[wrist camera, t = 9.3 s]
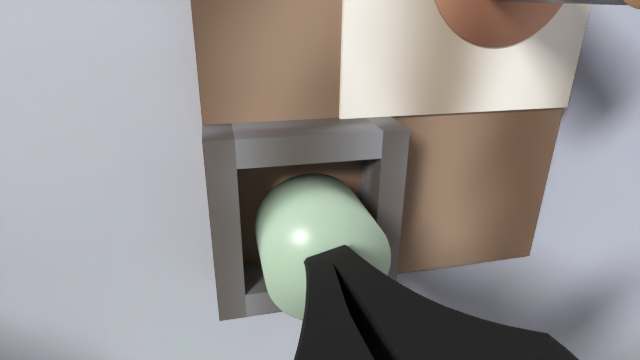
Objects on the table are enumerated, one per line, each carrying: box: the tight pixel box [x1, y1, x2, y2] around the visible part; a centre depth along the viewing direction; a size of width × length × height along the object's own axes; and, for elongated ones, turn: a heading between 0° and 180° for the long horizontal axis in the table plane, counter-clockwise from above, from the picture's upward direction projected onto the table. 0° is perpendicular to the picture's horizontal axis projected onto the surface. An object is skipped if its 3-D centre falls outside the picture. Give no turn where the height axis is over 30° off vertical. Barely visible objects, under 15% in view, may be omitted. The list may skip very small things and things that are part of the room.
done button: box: [255, 173, 391, 320], centre depth 15 cm, size 4×4×3 cm
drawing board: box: [191, 0, 591, 321], centre depth 16 cm, size 15×20×3 cm
